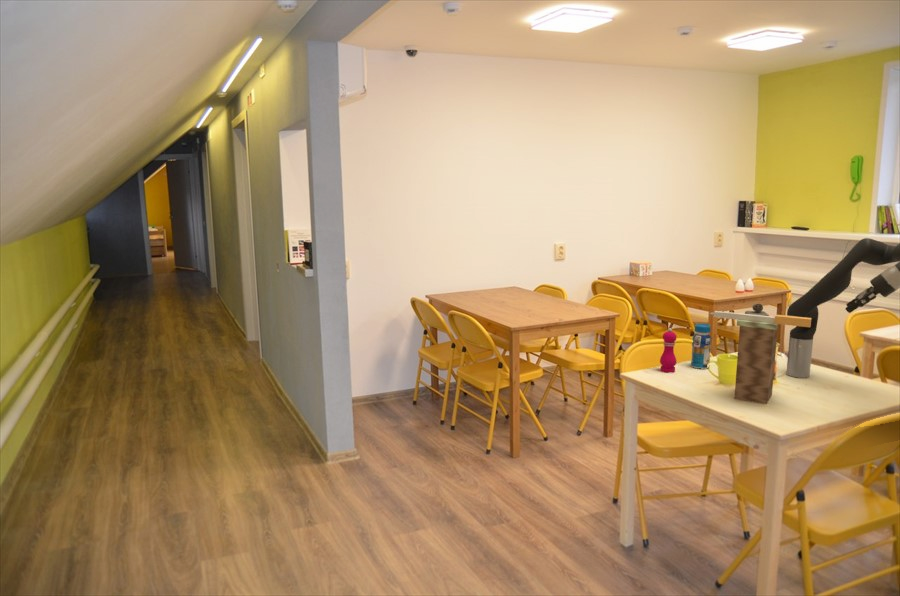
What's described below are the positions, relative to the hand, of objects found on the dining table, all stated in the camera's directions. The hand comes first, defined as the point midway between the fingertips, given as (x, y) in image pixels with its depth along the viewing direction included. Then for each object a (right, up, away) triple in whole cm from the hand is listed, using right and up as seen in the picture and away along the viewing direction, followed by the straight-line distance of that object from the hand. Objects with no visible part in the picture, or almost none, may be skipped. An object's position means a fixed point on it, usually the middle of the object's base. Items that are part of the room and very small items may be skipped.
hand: (847, 308), depth 239 cm
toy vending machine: (+1, -26, +77) cm, 81 cm away
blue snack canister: (-28, -28, +67) cm, 78 cm away
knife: (-25, -5, +16) cm, 30 cm away
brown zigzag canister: (-23, -36, +26) cm, 49 cm away
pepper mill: (-45, -30, +61) cm, 82 cm away
